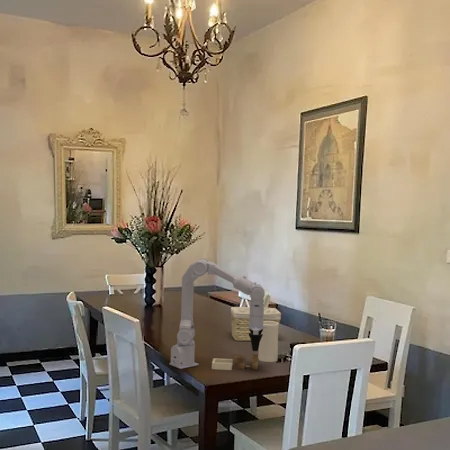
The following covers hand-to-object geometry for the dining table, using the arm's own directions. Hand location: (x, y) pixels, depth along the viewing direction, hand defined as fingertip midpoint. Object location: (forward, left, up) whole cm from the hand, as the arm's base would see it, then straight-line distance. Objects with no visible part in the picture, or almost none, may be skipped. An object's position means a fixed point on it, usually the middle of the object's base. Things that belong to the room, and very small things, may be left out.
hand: (255, 348), depth 217 cm
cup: (+14, +7, -9) cm, 18 cm away
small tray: (-9, +9, -8) cm, 15 cm away
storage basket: (+37, +38, -9) cm, 54 cm away
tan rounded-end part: (-2, +3, -8) cm, 9 cm away
